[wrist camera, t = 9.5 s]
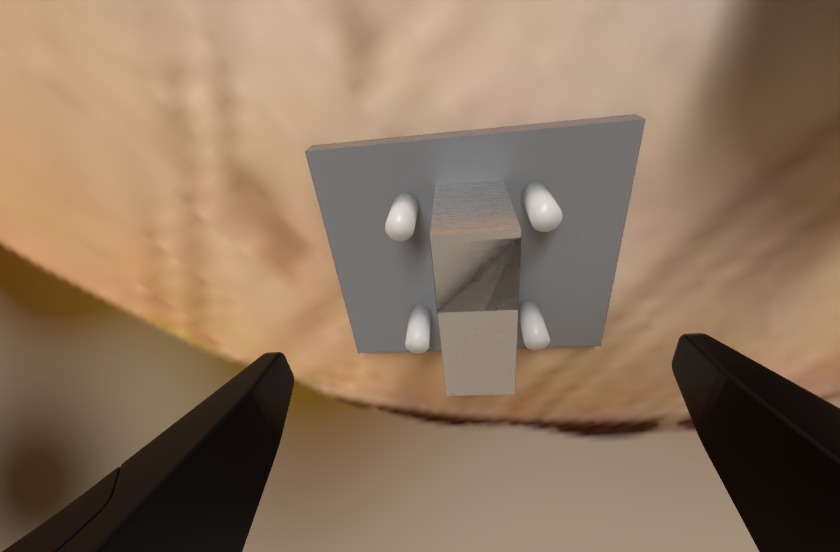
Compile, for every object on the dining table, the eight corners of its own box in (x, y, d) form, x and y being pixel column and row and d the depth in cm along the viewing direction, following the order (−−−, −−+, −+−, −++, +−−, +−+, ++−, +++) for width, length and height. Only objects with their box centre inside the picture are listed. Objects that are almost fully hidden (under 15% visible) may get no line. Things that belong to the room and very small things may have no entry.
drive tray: (635, 114, 16) (677, 132, 13) (595, 333, 22) (617, 379, 19) (312, 145, 17) (283, 168, 14) (361, 341, 24) (348, 385, 21)
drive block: (503, 179, 17) (521, 229, 12) (502, 321, 21) (515, 394, 17) (434, 185, 17) (429, 235, 13) (447, 323, 21) (446, 395, 17)
